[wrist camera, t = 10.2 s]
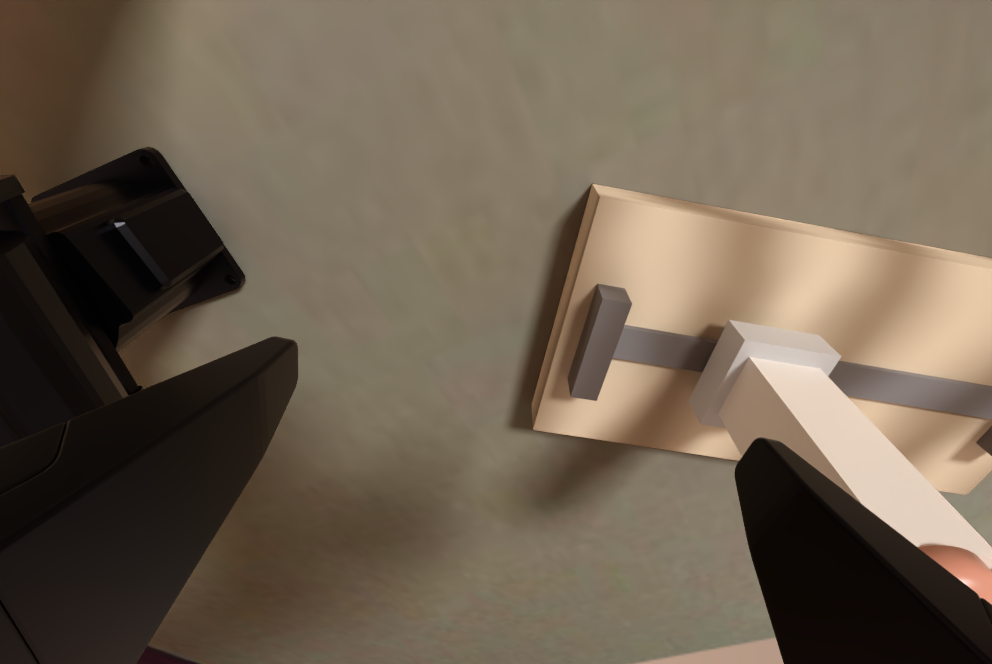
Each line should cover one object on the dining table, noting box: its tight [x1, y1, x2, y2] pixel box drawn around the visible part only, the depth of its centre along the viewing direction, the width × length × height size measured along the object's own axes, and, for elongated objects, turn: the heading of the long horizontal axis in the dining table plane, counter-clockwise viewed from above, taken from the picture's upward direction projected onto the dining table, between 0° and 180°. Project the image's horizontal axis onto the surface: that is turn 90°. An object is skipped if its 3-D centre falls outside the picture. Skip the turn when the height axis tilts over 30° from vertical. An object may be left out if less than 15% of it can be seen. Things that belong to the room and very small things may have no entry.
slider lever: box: [689, 320, 992, 604], centre depth 16 cm, size 4×4×11 cm
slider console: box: [532, 184, 992, 495], centre depth 22 cm, size 24×12×3 cm, turn 80°
